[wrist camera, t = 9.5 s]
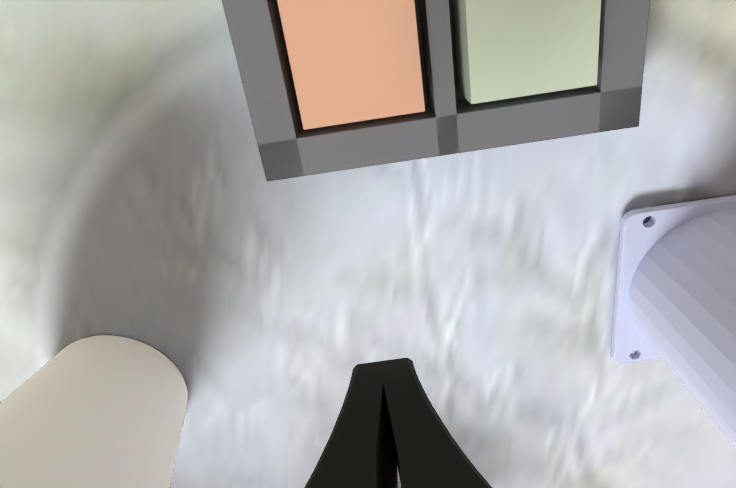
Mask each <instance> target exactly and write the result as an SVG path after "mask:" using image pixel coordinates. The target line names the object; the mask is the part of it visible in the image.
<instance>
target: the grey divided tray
mask: <svg viewBox="0 0 736 488" xmlns="http://www.w3.org/2000/svg"><path fill="white" fill-rule="evenodd" d="M649 2H650V0H601V12H600V33H599V53H598V73H597V85H594V86H587V87H581V88H574V89H568V90H561V91H555V92H548V93H542V94H535V95H528V96H522V97H515V98H509V99H502V100H496V101H489V102H483V103H476V104H471V103H470V102H469V101H468V100H467V99H466V98H465V97H464V96H463V95H462V94H461V93H460V92H459V91H458V84H457V69H456V54H455V40H454V25H453V10H452V0H414V3H415V13H416V23H417V33H418V44H419V54H420V64H421V74H422V85H423V95H424V105H425V111H424V112H417V113H411V114H404V115H398V116H391V117H385V118H378V119H371V120H365V121H358V122H352V123H345V124H339V125H332V126H326V127H319V128H312V129H306V130H304V129H303V124H302V119H301V114H300V109H299V105H298V100H297V95H296V90H295V85H294V80H293V75H292V70H291V66H290V61H289V56H288V51H287V46H286V41H285V36H284V32H283V27H282V22H281V17H280V12H279V7H278V2H277V0H222V3H223V7H224V11H225V15H226V19H227V23H228V27H229V31H230V35H231V39H232V43H233V47H234V51H235V55H236V59H237V63H238V67H239V71H240V75H241V79H242V83H243V87H244V91H245V95H246V99H247V103H248V107H249V111H250V115H251V120H252V124H253V128H254V132H255V136H256V140H257V144H258V148H259V152H260V156H261V160H262V164H263V168H264V172H265V176H266V180H267V181H273V180H279V179H286V178H293V177H300V176H306V175H313V174H320V173H327V172H333V171H340V170H347V169H354V168H360V167H367V166H374V165H381V164H388V163H394V162H401V161H408V160H415V159H421V158H428V157H435V156H442V155H448V154H455V153H462V152H469V151H475V150H482V149H489V148H496V147H502V146H509V145H516V144H523V143H529V142H536V141H543V140H550V139H556V138H563V137H570V136H577V135H583V134H590V133H597V132H604V131H610V130H617V129H624V128H631V127H637V126H639V116H640V105H641V93H642V82H643V71H644V59H645V48H646V36H647V25H648V13H649Z"/></svg>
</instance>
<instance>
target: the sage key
mask: <svg viewBox="0 0 736 488" xmlns="http://www.w3.org/2000/svg"><path fill="white" fill-rule="evenodd" d="M452 10H453V25H454V40H455V54H456V69H457V84H458V91H459V92H460V93H461V94H462V95H463V96H464V97H465V98H466V99H467V100H468V101H469V102H470V103H471V104H476V103H483V102H489V101H496V100H502V99H509V98H515V97H522V96H528V95H535V94H542V93H548V92H555V91H561V90H568V89H574V88H581V87H587V86H594V85H597V73H598V53H599V33H600V12H601V0H452Z"/></svg>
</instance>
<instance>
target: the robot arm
mask: <svg viewBox="0 0 736 488" xmlns="http://www.w3.org/2000/svg"><path fill="white" fill-rule="evenodd" d="M648 216H651V218H650V220H649V221H648V222H647V223H645V224H643V221H644V219H645V218H646V217H648ZM633 351H636V352H635V353H633V354H630V353H632V352H633ZM611 357H612V358H613V359H614V361H615V362H616V363H619V364H627V363H635V362H643V361H650V360H658V359H663V360H664V362H665V363H666V364H667V365H668V367H669V368H670V369H671V370H672V371H673V373H674V374H675V375H676V376H677V378H678V379H679V380H680V381H681V382H682V384H683V385H684V386H685V387H686V389H687V390H688V391H689V392H690V393H691V395H692V396H693V397H694V398H695V400H696V401H697V402H698V403H699V404H700V406H701V407H702V408H703V409H704V411H705V412H706V413H707V414H708V415H709V417H710V418H711V419H712V420H713V422H714V423H715V424H716V425H717V426H718V428H719V429H720V430H721V431H722V433H723V434H724V435H725V436H726V437H727V439H728V440H729V441H730V442H731V444H732V445H733V446H734V447H735V448H736V195H733V196H725V197H718V198H711V199H704V200H697V201H690V202H683V203H675V204H668V205H661V206H654V207H647V208H640V209H633V210H630V211H628V212H627V213H625V215H624V216H623V217H622V220H621V228H620V240H619V253H618V266H617V279H616V291H615V304H614V317H613V330H612V342H611ZM397 466H398V471H399V476H400V481H401V488H492V487H491V486H490V485H489V484H488V482H487V481H486V480H485V479H484V478H483V476H482V475H481V474H480V473H479V472H478V470H477V469H476V468H475V467H474V466H473V464H472V463H471V462H470V460H469V459H468V458H467V457H466V455H465V454H464V453H463V451H462V450H461V449H460V447H459V446H458V444H457V443H456V442H455V440H454V439H453V437H452V436H451V434H450V433H449V431H448V430H447V428H446V427H445V425H444V424H443V422H442V421H441V419H440V417H439V416H438V414H437V413H436V411H435V409H434V408H433V406H432V404H431V403H430V401H429V399H428V397H427V395H426V393H425V391H424V389H423V387H422V385H421V383H420V381H419V379H418V376H417V374H416V371H415V369H414V365H413V361H412V360H410V359H409V358H402V359H394V360H387V361H380V362H372V363H365V364H358V365H356V366H355V367H354V369H353V372H352V377H351V381H350V384H349V388H348V391H347V394H346V397H345V400H344V403H343V406H342V409H341V411H340V414H339V416H338V419H337V421H336V424H335V426H334V429H333V431H332V434H331V436H330V438H329V440H328V442H327V444H326V447H325V449H324V451H323V453H322V455H321V457H320V459H319V461H318V463H317V465H316V467H315V469H314V471H313V473H312V475H311V477H310V479H309V480H308V482H307V484H306V486H305V488H398V480H397Z"/></svg>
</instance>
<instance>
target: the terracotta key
mask: <svg viewBox="0 0 736 488" xmlns="http://www.w3.org/2000/svg"><path fill="white" fill-rule="evenodd" d="M277 2H278V7H279V12H280V17H281V22H282V27H283V32H284V36H285V41H286V46H287V51H288V56H289V61H290V66H291V70H292V75H293V80H294V85H295V90H296V95H297V100H298V105H299V109H300V114H301V119H302V124H303V129H304V130H306V129H312V128H319V127H326V126H332V125H339V124H345V123H352V122H358V121H365V120H371V119H378V118H385V117H391V116H398V115H404V114H411V113H417V112H424V111H425V105H424V95H423V85H422V74H421V64H420V54H419V44H418V33H417V23H416V13H415V3H414V0H277Z"/></svg>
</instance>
